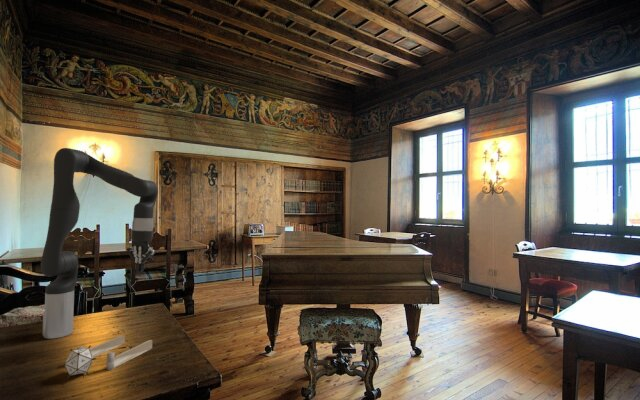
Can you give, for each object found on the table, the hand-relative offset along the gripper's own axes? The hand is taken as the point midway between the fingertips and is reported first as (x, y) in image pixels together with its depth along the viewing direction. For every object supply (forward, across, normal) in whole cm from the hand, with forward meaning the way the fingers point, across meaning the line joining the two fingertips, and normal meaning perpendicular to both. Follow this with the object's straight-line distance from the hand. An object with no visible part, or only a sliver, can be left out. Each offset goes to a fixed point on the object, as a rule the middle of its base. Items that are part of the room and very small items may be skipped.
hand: (139, 272), depth 131 cm
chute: (+26, +7, -14) cm, 30 cm away
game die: (+26, +7, -28) cm, 39 cm away
